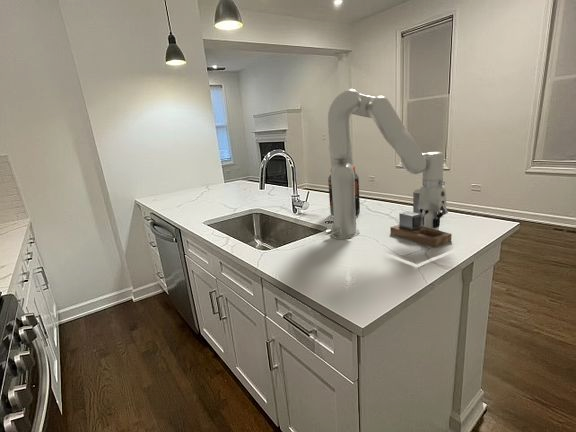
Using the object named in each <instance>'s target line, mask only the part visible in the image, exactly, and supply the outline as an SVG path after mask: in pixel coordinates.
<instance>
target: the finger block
mask: <svg viewBox="0 0 576 432" xmlns="http://www.w3.org/2000/svg"><path fill="white" fill-rule="evenodd" d="M398 220H399V222H398V223H399V224H398V225H399V228H402V229H406V230H409V231H415V230H418V229H420V226H422V220H421V216H420V214H418V213H414V212H413V211H408V210H406V211H403V212H399V218H398Z"/></svg>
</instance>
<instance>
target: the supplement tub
mask: <svg viewBox="0 0 576 432" xmlns="http://www.w3.org/2000/svg"><path fill="white" fill-rule="evenodd" d="M353 170H354V175H355V209H356V217H358V216H359V215H360V213H361V205H360V204H361V203H360V179H359V175H358V173H356V167H355V165H353ZM331 171H332V169H331V168H330V172H331ZM327 181H328V182H327V183H328V195H329V196H328V197H329V212H330V215H331V216H332V217H334V215H333V199H332V185H331V174H330V175H329V176H328V179H327Z"/></svg>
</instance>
